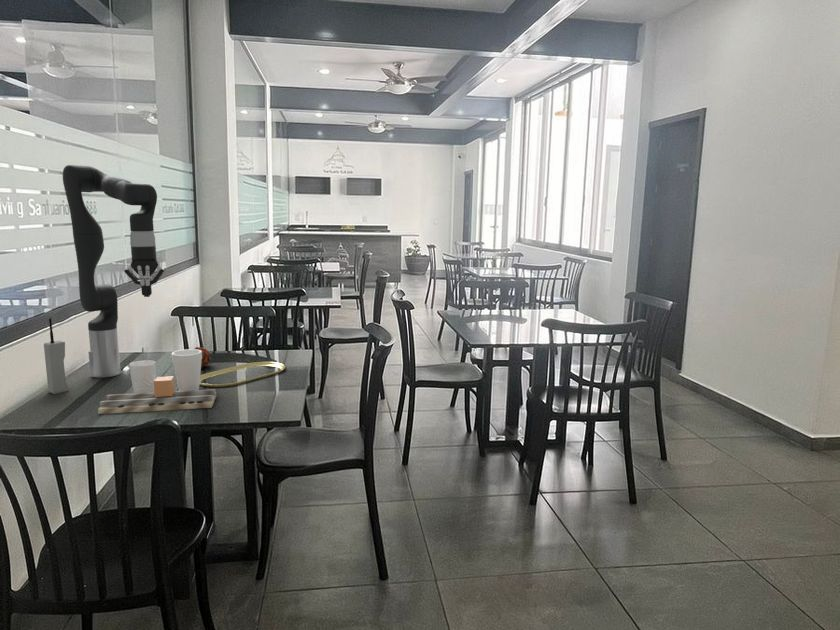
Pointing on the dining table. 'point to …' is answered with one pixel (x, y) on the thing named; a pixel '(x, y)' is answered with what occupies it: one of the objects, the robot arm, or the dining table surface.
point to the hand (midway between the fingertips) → (146, 296)
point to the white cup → (143, 376)
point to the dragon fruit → (204, 356)
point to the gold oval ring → (238, 369)
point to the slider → (164, 387)
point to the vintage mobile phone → (55, 364)
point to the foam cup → (187, 368)
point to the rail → (157, 401)
